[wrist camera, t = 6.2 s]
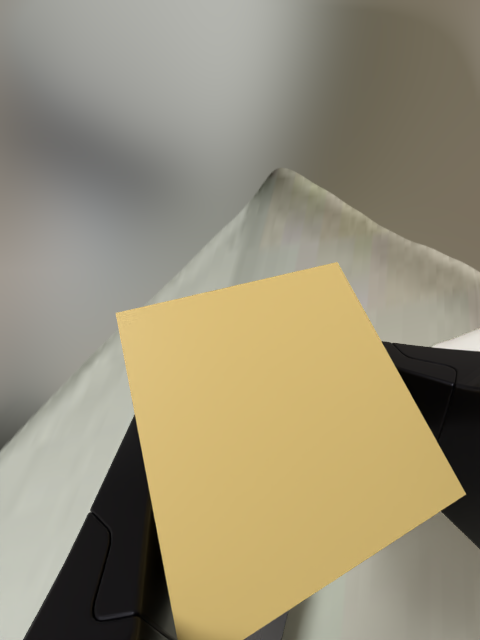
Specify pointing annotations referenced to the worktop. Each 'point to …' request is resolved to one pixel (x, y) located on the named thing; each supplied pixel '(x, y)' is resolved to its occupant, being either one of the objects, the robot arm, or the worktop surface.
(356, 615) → the worktop surface
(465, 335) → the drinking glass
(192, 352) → the mustard block
